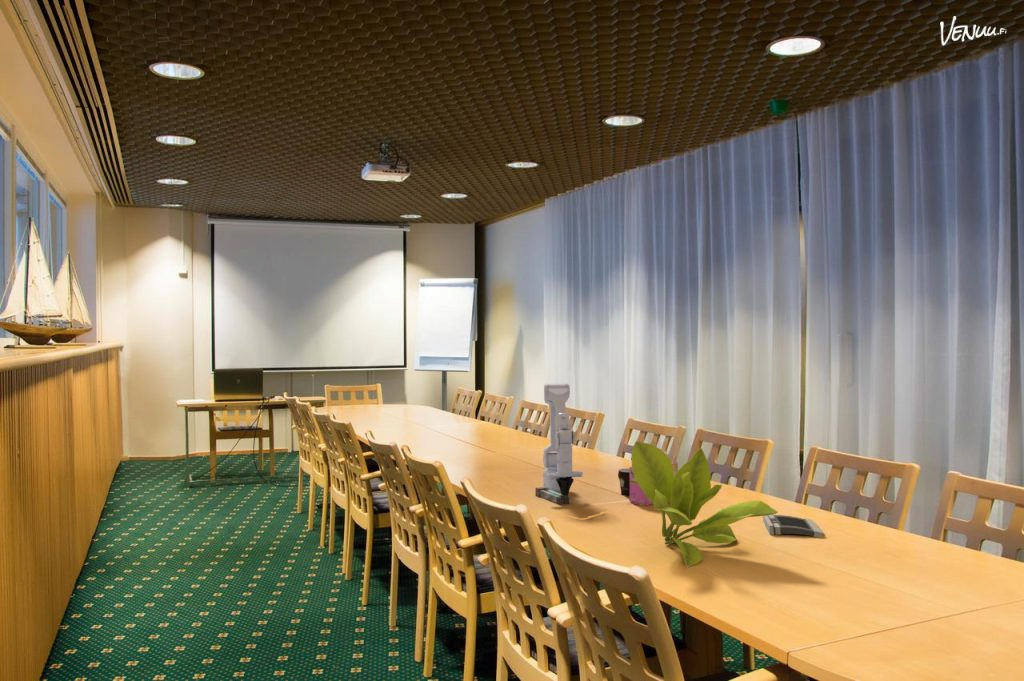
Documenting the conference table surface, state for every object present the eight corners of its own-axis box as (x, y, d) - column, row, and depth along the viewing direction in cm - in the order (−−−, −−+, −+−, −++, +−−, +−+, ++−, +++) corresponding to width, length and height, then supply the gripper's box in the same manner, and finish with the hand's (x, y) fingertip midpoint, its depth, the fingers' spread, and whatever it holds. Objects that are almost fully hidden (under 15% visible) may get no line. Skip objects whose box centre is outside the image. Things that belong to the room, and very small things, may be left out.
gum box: (663, 493, 302) (663, 459, 302) (681, 496, 297) (680, 461, 297) (628, 502, 285) (628, 467, 285) (646, 506, 279) (646, 469, 279)
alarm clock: (762, 513, 255) (813, 511, 252) (763, 526, 255) (814, 525, 252) (769, 525, 238) (823, 524, 235) (770, 540, 238) (825, 539, 235)
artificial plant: (634, 590, 206) (685, 512, 192) (585, 479, 240) (626, 406, 226) (754, 598, 222) (810, 526, 208) (692, 493, 256) (736, 426, 243)
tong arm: (546, 497, 292) (546, 490, 292) (550, 496, 292) (550, 489, 292) (564, 504, 279) (564, 497, 279) (568, 503, 280) (568, 496, 280)
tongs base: (535, 495, 295) (535, 486, 295) (545, 494, 297) (545, 485, 297) (559, 505, 278) (559, 495, 278) (569, 504, 280) (569, 494, 280)
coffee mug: (642, 497, 293) (642, 472, 293) (619, 497, 293) (619, 472, 293) (637, 491, 305) (637, 467, 305) (616, 491, 305) (616, 467, 305)
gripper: (552, 464, 279) (552, 501, 279) (586, 461, 285) (586, 497, 285) (543, 461, 285) (543, 497, 285) (577, 458, 291) (577, 493, 291)
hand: (564, 497), depth 285 cm, fingers closed
